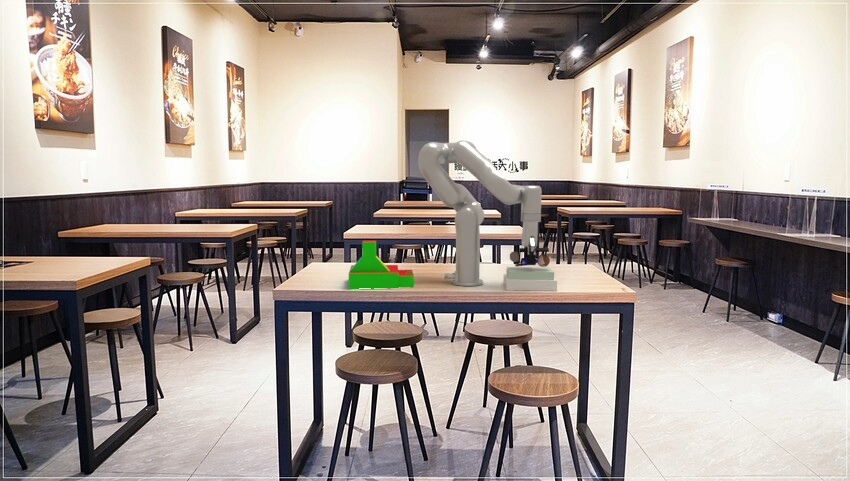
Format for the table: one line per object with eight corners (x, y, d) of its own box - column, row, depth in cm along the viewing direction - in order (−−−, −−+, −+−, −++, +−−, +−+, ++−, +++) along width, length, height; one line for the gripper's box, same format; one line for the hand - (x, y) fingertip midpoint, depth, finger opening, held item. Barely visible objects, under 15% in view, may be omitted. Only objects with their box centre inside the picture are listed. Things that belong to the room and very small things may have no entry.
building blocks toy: (414, 289, 224) (414, 242, 222) (348, 290, 222) (348, 242, 220) (411, 280, 243) (411, 236, 241) (351, 281, 241) (351, 237, 239)
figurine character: (510, 270, 224) (550, 267, 222) (508, 251, 223) (549, 247, 221) (510, 268, 231) (549, 264, 228) (509, 248, 230) (548, 245, 228)
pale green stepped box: (506, 290, 221) (506, 272, 220) (503, 283, 234) (503, 266, 233) (556, 290, 220) (557, 272, 220) (551, 284, 233) (551, 267, 232)
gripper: (518, 215, 233) (517, 259, 235) (523, 219, 216) (522, 267, 218) (537, 216, 232) (536, 260, 235) (544, 219, 215) (542, 267, 217)
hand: (529, 263), depth 226 cm, fingers closed on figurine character, 6 cm apart
